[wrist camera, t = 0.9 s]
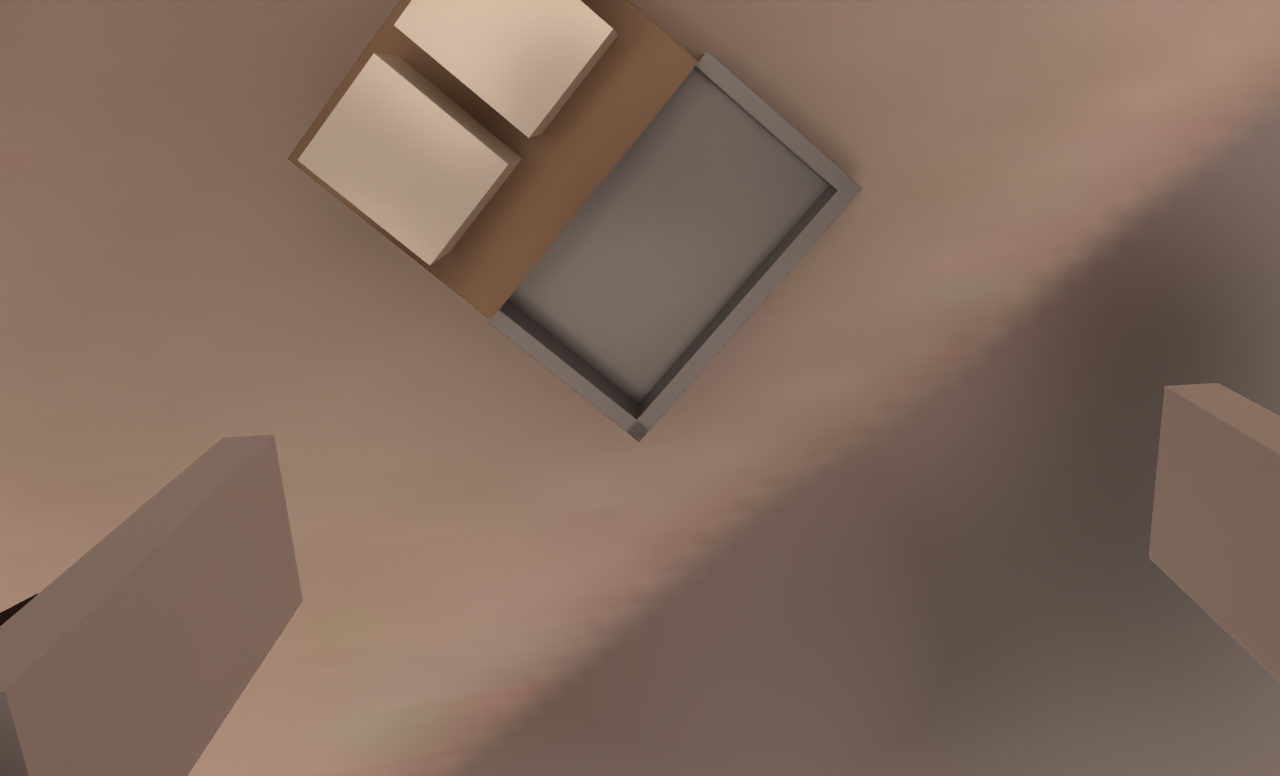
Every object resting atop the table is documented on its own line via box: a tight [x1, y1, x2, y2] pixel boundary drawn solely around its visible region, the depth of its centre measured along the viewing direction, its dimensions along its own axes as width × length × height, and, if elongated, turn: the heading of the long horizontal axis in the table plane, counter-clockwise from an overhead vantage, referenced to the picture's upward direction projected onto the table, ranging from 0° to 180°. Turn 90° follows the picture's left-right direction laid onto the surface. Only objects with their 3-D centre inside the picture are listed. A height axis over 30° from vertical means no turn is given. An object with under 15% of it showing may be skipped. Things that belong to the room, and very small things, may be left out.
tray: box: [489, 51, 863, 441], centre depth 37 cm, size 7×12×3 cm, turn 140°
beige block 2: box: [394, 0, 618, 138], centre depth 31 cm, size 5×4×3 cm
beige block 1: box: [298, 53, 522, 265], centre depth 32 cm, size 5×4×3 cm
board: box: [288, 0, 698, 320], centre depth 35 cm, size 8×11×4 cm
